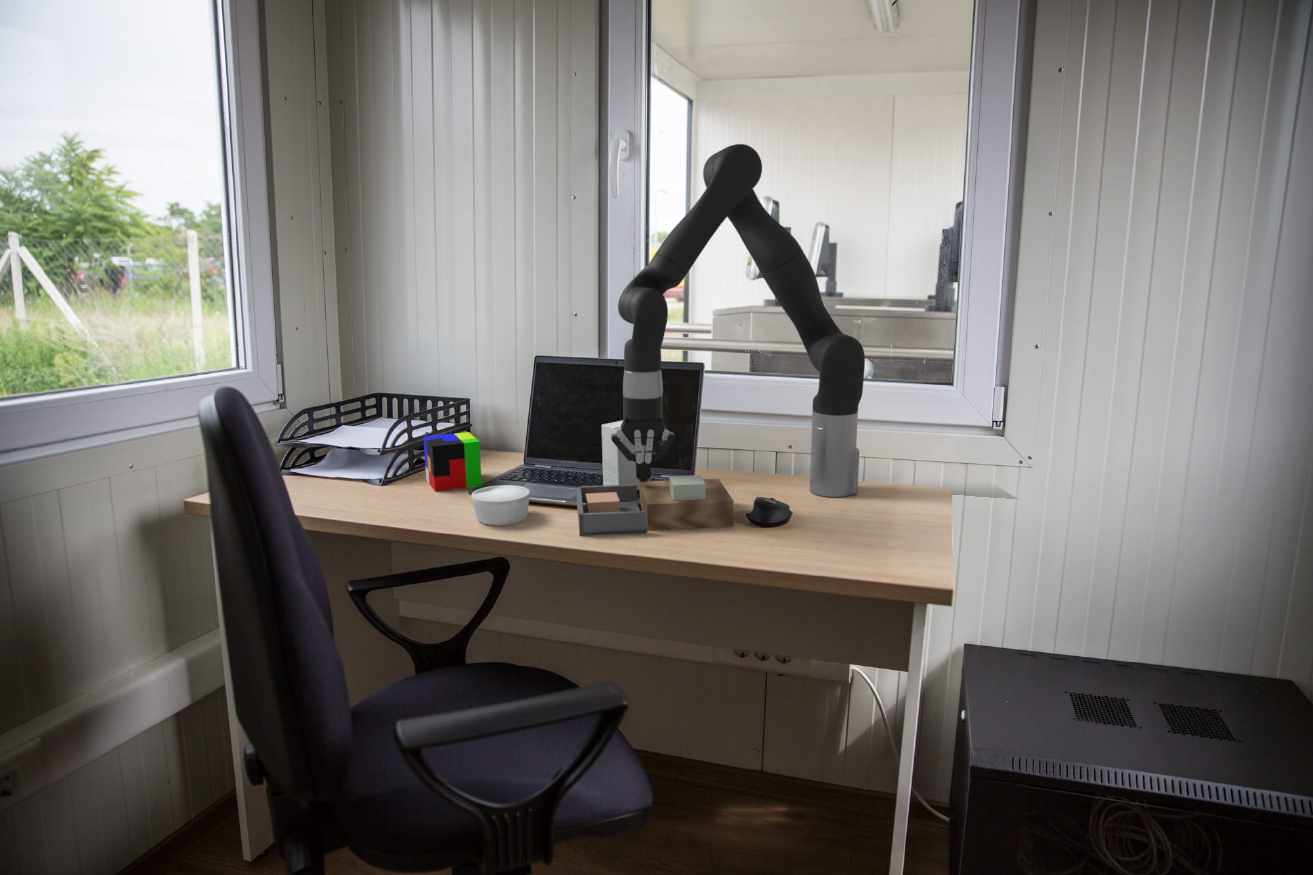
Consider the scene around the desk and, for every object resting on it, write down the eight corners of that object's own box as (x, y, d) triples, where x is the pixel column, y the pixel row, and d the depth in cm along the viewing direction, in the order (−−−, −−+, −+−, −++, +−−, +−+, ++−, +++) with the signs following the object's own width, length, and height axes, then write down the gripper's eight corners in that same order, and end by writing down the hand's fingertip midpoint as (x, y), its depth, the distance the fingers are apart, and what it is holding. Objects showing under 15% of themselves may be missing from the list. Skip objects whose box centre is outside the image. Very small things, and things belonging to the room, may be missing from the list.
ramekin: (497, 506, 175) (496, 481, 174) (543, 514, 170) (542, 488, 169) (460, 522, 166) (458, 496, 164) (507, 531, 160) (506, 504, 159)
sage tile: (700, 490, 168) (700, 475, 167) (705, 499, 162) (705, 484, 161) (669, 491, 167) (669, 476, 166) (673, 500, 161) (673, 485, 161)
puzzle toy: (426, 480, 194) (423, 436, 192) (471, 475, 198) (468, 432, 196) (435, 492, 185) (432, 446, 183) (481, 486, 189) (479, 441, 187)
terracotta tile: (585, 493, 171) (585, 508, 172) (588, 502, 165) (588, 517, 166) (616, 492, 172) (616, 506, 172) (619, 501, 166) (620, 516, 167)
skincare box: (632, 484, 190) (631, 417, 186) (650, 490, 185) (649, 422, 182) (601, 491, 185) (600, 422, 181) (618, 498, 180) (617, 427, 177)
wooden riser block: (718, 502, 177) (718, 478, 176) (733, 526, 162) (733, 500, 161) (639, 505, 175) (639, 481, 174) (647, 530, 161) (647, 504, 159)
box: (636, 503, 176) (636, 484, 176) (645, 533, 159) (645, 512, 158) (577, 505, 175) (576, 486, 174) (579, 535, 158) (579, 514, 157)
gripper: (674, 389, 171) (674, 474, 175) (607, 390, 169) (608, 476, 173) (680, 396, 163) (679, 485, 167) (609, 397, 162) (610, 487, 166)
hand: (643, 480), depth 170 cm, fingers closed
